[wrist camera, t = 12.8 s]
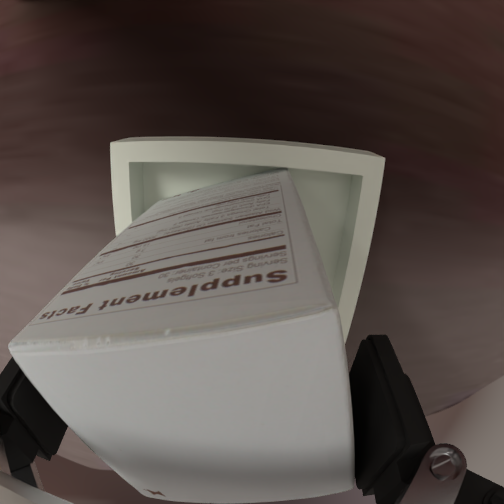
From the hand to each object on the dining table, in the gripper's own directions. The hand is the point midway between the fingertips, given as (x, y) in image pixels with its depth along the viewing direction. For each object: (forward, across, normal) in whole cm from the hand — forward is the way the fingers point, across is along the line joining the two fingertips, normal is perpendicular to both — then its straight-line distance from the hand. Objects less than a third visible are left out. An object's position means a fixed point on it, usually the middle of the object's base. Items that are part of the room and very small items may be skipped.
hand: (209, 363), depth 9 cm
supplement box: (+9, 0, 0) cm, 9 cm away
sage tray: (+10, -1, +1) cm, 10 cm away
